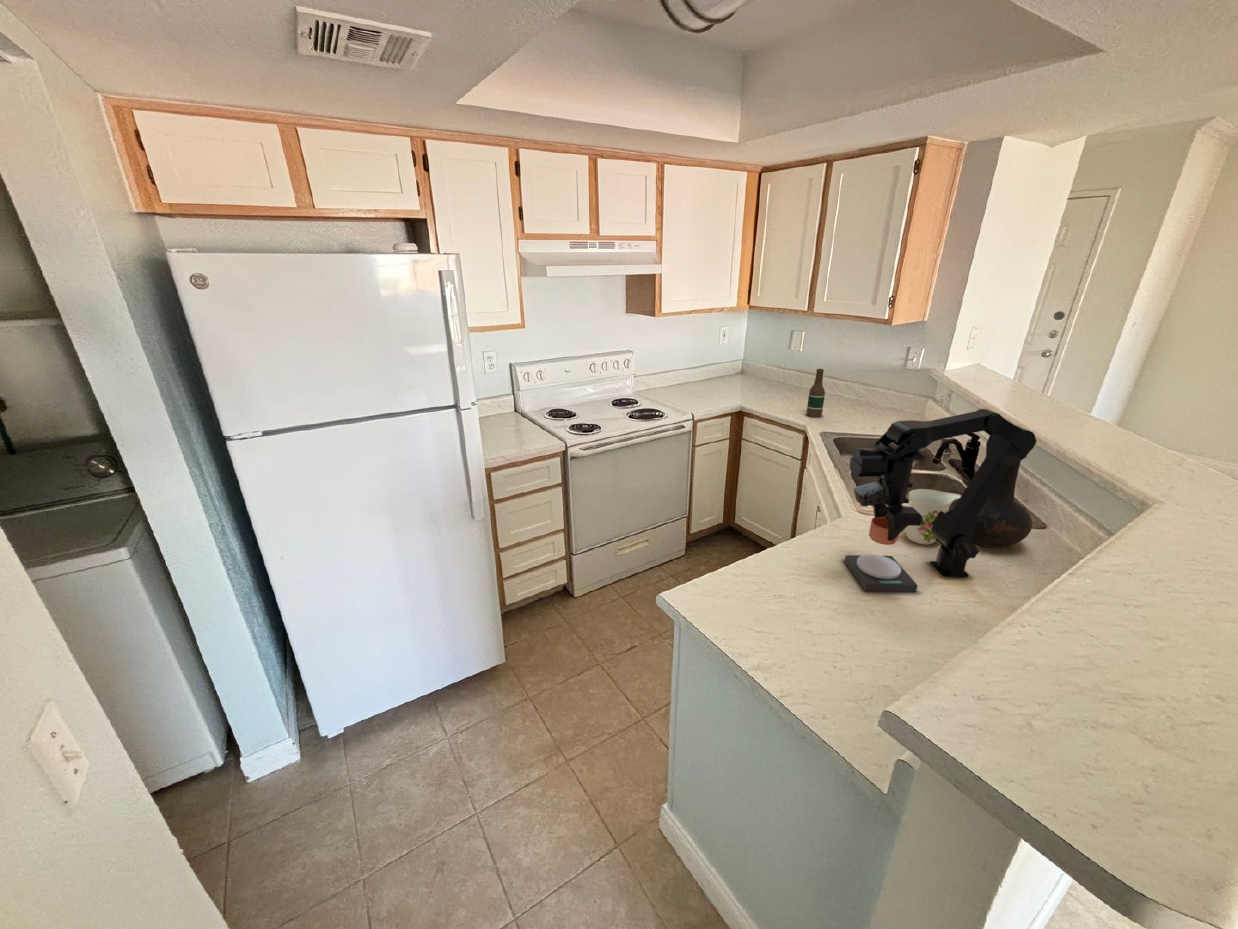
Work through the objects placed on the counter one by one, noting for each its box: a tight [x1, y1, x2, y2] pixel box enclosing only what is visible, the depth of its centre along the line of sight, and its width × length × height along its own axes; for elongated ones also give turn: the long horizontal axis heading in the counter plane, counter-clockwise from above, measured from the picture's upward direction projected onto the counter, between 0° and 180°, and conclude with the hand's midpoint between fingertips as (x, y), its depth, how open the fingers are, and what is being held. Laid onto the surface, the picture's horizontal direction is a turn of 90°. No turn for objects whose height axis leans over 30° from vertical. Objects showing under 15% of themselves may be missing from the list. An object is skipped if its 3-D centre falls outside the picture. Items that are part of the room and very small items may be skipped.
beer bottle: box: [806, 368, 826, 419], centre depth 254 cm, size 8×8×24 cm
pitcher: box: [901, 488, 962, 545], centre depth 140 cm, size 11×18×14 cm, turn 86°
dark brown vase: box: [971, 455, 1033, 548], centre depth 137 cm, size 18×18×28 cm
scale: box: [844, 553, 918, 593], centre depth 126 cm, size 13×12×3 cm
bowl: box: [868, 516, 900, 546], centre depth 123 cm, size 6×6×4 cm
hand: (884, 533), depth 124 cm, fingers closed on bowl, 6 cm apart
